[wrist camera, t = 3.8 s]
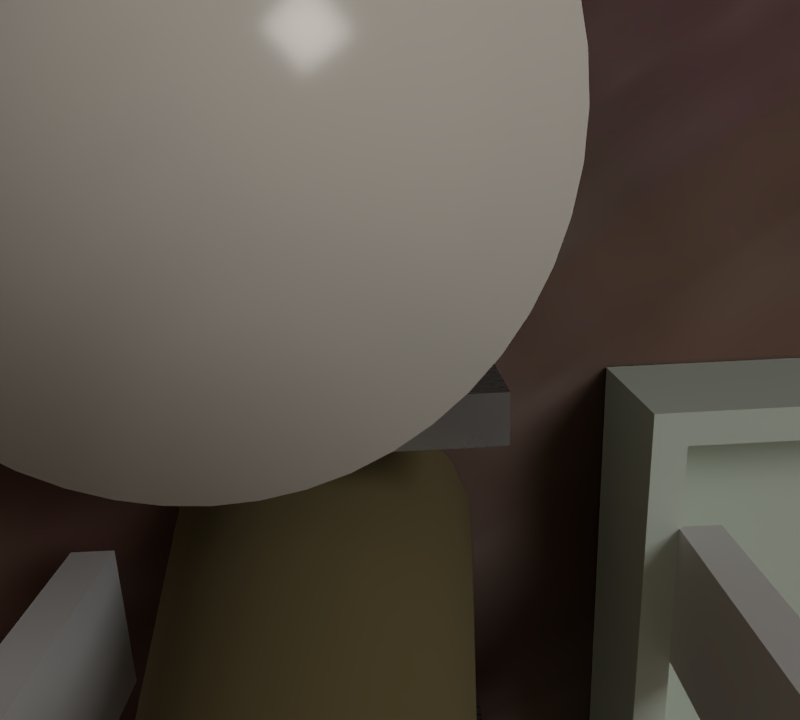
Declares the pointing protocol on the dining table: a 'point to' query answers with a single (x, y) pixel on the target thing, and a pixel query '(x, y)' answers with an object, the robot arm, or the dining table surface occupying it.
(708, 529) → the robot arm
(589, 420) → the dining table surface
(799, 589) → the tray
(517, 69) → the cream jar
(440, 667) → the cork
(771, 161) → the dining table surface
